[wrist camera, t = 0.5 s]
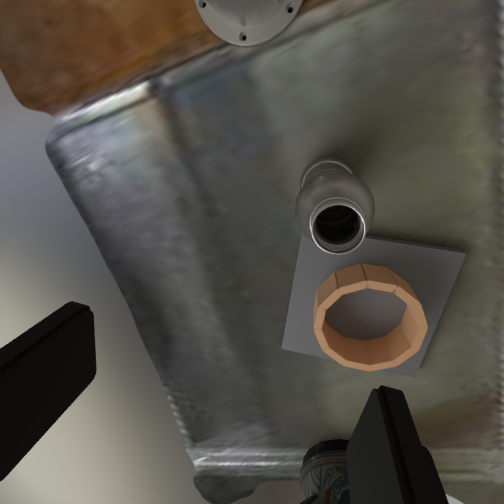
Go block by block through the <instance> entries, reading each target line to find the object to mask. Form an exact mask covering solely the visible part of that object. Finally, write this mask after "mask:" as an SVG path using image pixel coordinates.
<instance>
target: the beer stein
mask: <svg viewBox="0 0 504 504" xmlns="http://www.w3.org/2000/svg"><path fill="white" fill-rule="evenodd" d="M348 444H349V441H347V440H339V439H338V440H330V441H322V442H321V443H319V444H317V445H315V446H314V447H312V448H310V449H309V450H308V452H307V453H306V455H305V456H304V460H303V465H302V468H301V471H300V487H301V490H302V493H303V496H304V501H303V502H301V503H300V504H351V502H350V492H349V481H348V471H347V461H346V452H347V446H348Z"/></svg>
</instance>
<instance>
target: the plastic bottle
mask: <svg viewBox="0 0 504 504" xmlns="http://www.w3.org/2000/svg"><path fill="white" fill-rule="evenodd" d="M374 215H375V202H374V198H373V195H372V193H371V191H370V189H369V188H368V186H367V185H366V184H365V183H364V182H363V181H362V180H361V179H360V178H358V177H357V176H355V174H354V172H353V170H352V169H351V167H350V166H349V165H348V164H347V163H346V162H345V161H343V160H341V159H339V158H336V157H330V156H328V157H321V158H318V159H316V160H314V161H312V162H311V163H310V164H309V165H308V166H307V167H306V168H305V170H304V171H303V173H302V176H301V179H300V192H299V194H298V197H297V200H296V204H295V216H296V220H297V223H298V226H299V228H300V229H301V231H302V232H303V234H304V235H305V236H306V237H307V238H308V239H310V240H311V241H312V242H313V243H315V244H316V245H317V246H318V247H319V248H320V249H322V250H323V251H325V252H327V253H330V254H334V255H344V254H348V253H350V252H352V251H354V250H356V249H357V248H358V247H359V246H360V245H361V244H362V242H363V240H364V238H365V235H366V234H367V232H368V231H369V229H370V227H371V225H372V222H373V220H374Z"/></svg>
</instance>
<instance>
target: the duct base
mask: <svg viewBox="0 0 504 504" xmlns="http://www.w3.org/2000/svg"><path fill="white" fill-rule="evenodd" d="M466 254H467V253H465V252H464V251H463V250H462V249H457V248H450V247H444V246H437V245H431V244H424V243H418V242H411V241H405V240H398V239H392V238H385V237H379V236H372V235H365V238H364V240H363V242H362V244H361V245H360V246H359V247H358V248H357V249H356V250H354V251H352V252H350V253H348V254H344V255H334V254H330V253H327V252H325V251H323V250H322V249H320V248H319V247H318V246H317V245H316V244H315V243H313V242H312V241H311V240H310V239H308V238H307V237H306V236H305V235H304V234H303V232H302V234H301V240H300V246H299V251H298V257H297V263H296V268H295V274H294V280H293V285H292V291H291V297H290V302H289V308H288V314H287V319H286V325H285V331H284V336H283V342H282V349H285V350H290V351H294V352H299V353H304V354H309V355H313V356H318V357H323V358H327V359H332V360H335V361H337V362H338V363H340V364H341V365H343V366H346V367H351V368H355V369H360V370H365V371H369V370H370V371H375V370H384V371H389V372H393V373H398V374H403V375H408V376H412V377H416V375H417V372H418V370H419V367H420V365H421V362H422V360H423V358H424V355H425V353H426V350H427V348H428V346H429V343H430V341H431V338H432V336H433V334H434V331H435V329H436V326H437V324H438V322H439V319H440V317H441V314H442V312H443V310H444V307H445V305H446V302H447V300H448V298H449V295H450V293H451V290H452V288H453V286H454V283H455V281H456V278H457V276H458V274H459V271H460V269H461V266H462V264H463V262H464V259H465V257H466Z"/></svg>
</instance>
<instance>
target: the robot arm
mask: <svg viewBox="0 0 504 504" xmlns="http://www.w3.org/2000/svg"><path fill="white" fill-rule="evenodd" d="M194 1H195V4H196V7H197V10H198V12H199V14H200V15H201V17H202V19H203V21H204V22H205V23H206V25H207V26H208V27H209V28H210V29H211V31H212V32H213V33H215V34H216V35H217V36H218V37H219V38H221V39H222V40H224V41H225V42H227V43H230V44H232V45H235V46H240V47H256V46H260V45H263V44H266V43H268V42H270V41H272V40H273V39H275V38H277V37H278V36H279V35H280V34H281V33H283V32H284V31H285V30H286V29H287V28H288V27H289V25H290V24H291V23H292V22H293V20H294V19H295V17H296V16H297V14H298V12H299V10H300V8H301V6H302V4H303V1H304V0H194ZM204 4H206V6H205V8H203V5H204ZM289 9H292V10H293V11H292V13H288V10H289ZM244 36H246V40H245V41H243V37H244ZM95 375H96V351H95V333H94V315H93V312H92V311H91V310H90V307H89V306H87V305H83V304H80V303H76V302H73V301H72V302H68V303H66V304H65V305H64V306H62V307H61V308H59V309H58V310H56V311H55V312H53V313H52V314H50V315H49V316H48V317H46V318H45V319H43V320H42V321H40V322H39V323H37V324H36V325H34V326H33V327H31V328H30V329H28V330H27V331H26V332H24V333H23V334H21V335H20V336H18V337H17V338H16V339H14V340H12V341H11V342H9V343H8V344H7V345H5V346H4V347H2V348H1V349H0V481H1V480H3V479H4V478H5V477H6V476H7V475H8V474H9V473H10V472H11V471H12V469H13V468H14V467H15V466H16V465H17V464H18V463H19V462H20V460H22V458H23V457H24V456H25V455H26V454H27V453H28V452H29V451H30V450H31V448H32V447H33V446H34V445H35V444H36V443H37V442H38V441H39V439H40V438H41V437H42V436H43V435H44V434H45V433H46V432H47V431H48V429H49V428H50V427H51V426H52V425H53V424H54V423H55V422H56V420H58V418H59V417H60V416H61V415H62V414H63V413H64V412H65V411H66V409H67V408H68V407H69V406H70V405H71V404H72V403H73V402H74V401H75V399H76V398H77V397H78V396H79V395H80V394H81V393H82V392H83V391H84V390H85V388H86V387H87V386H88V385H89V384H90V383H91V382H92V380H93V379H94V377H95ZM346 461H347V471H348V481H349V492H350V502H351V504H449V503H448V500H447V497H446V495H445V492H444V489H443V486H442V484H441V481H440V478H439V475H438V472H437V470H436V467H435V464H434V461H433V459H432V456H431V454H430V452H429V450H428V449H427V448H426V447H424V446H422V445H421V443H420V440H419V437H418V434H417V431H416V428H415V425H414V422H413V419H412V416H411V413H410V411H409V408H408V405H407V402H406V399H405V396H404V394H403V392H402V391H401V390H397V389H394V388H390V387H386V386H382V385H381V386H380V387H379V389H373V390H372V392H371V394H370V396H369V399H368V401H367V403H366V405H365V408H364V410H363V412H362V414H361V417H360V419H359V421H358V423H357V426H356V428H355V430H354V432H353V435H352V437H351V439H350V441H349V444H348V446H347V452H346Z"/></svg>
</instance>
